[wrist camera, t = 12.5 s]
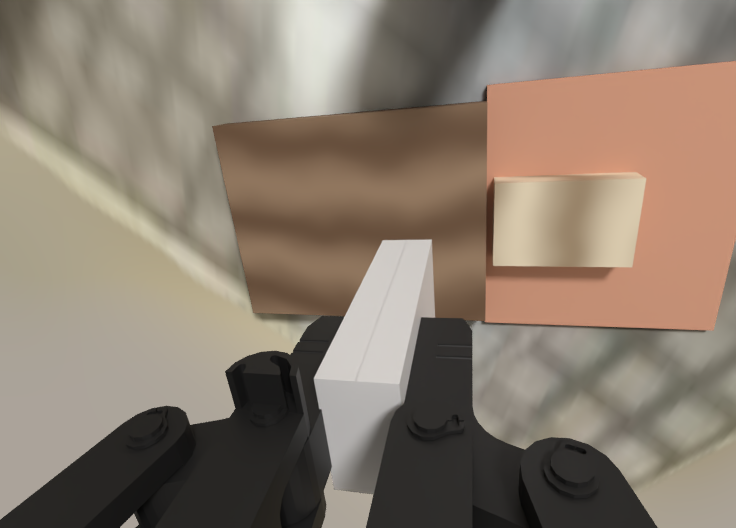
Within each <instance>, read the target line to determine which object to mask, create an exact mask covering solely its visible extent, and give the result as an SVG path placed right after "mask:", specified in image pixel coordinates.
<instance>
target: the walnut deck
mask: <svg viewBox="0 0 736 528" xmlns="http://www.w3.org/2000/svg"><path fill="white" fill-rule="evenodd" d="M212 127H213V132H214V136H215V141H216V146H217V150H218V155H219V159H220V164H221V168H222V173H223V177H224V182H225V186H226V191H227V195H228V200H229V204H230V209H231V213H232V218H233V222H234V227H235V231H236V236H237V240H238V245H239V249H240V254H241V258H242V263H243V267H244V272H245V276H246V281H247V285H248V290H249V295H250V299H251V304H252V308H253V313H273V314H302V315H330V316H345V315H346V313H347V311H348V309H349V307H350V305H351V303H352V301H353V299H354V297H355V295H356V293H357V291H358V289H359V287H360V285H361V283H362V281H363V279H364V277H365V275H366V273H367V271H368V269H369V267H370V265H371V263H372V261H373V259H374V257H375V255H376V253H377V251H378V249H379V247H380V245H381V243H382V241H383V240H431V239H432V255H433V279H434V302H435V318H463V319H464V320H474V321H485V309H486V205H487V101H480V102H469V103H458V104H446V105H435V106H423V107H412V108H401V109H389V110H378V111H366V112H355V113H343V114H332V115H321V116H309V117H298V118H286V119H275V120H263V121H252V122H241V123H229V124H222V125H217V126H212Z"/></svg>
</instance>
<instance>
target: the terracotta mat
mask: <svg viewBox="0 0 736 528" xmlns="http://www.w3.org/2000/svg"><path fill="white" fill-rule="evenodd" d="M621 172H637V173H639V174H640V175H642V176H643V177H645V178H646V184H645V190H644V197H643V203H642V209H641V216H640V222H639V228H638V235H637V241H636V247H635V254H634V260H633V266H632V267H548V266H493V261H492V242H493V200H494V177H515V176H541V175H568V174H594V173H621ZM735 239H736V61H732V62H721V63H711V64H701V65H690V66H680V67H670V68H659V69H649V70H638V71H628V72H618V73H607V74H597V75H587V76H576V77H566V78H555V79H545V80H535V81H524V82H514V83H504V84H493V85H487V205H486V309H485V322H492V323H520V324H548V325H576V326H604V327H632V328H660V329H688V330H714V326H715V322H716V318H717V314H718V310H719V305H720V301H721V297H722V293H723V289H724V285H725V281H726V276H727V272H728V268H729V264H730V260H731V256H732V251H733V247H734V243H735Z"/></svg>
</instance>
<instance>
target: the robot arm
mask: <svg viewBox="0 0 736 528" xmlns="http://www.w3.org/2000/svg"><path fill="white" fill-rule="evenodd" d="M225 373H226V377H227V380H228V384H229V387H230V391H231V394H232V398H233V401H234V404H235V408H236V409H235V410H234V412H233V413H232V415H231V416H230V418H226V419H222V420H217V421H211V422H205V423H200V424H193V425H190V424H189V421H188V418H187V415H186V413H185V412H184V411H183V410H181V409H180V408H178V407H171V406H164V407H157V408H152V409H149V410H147V411H144V412H142V413H140V414H137V415H135V416H134V417H132V418H131V419H130V420H128V421H126V422H125V423H123V424H122V425H120V426H119V427H118V428H117V429H115V430H114V431H113V432H112V433H111V434H109V435H108V436H107V437H105V438H104V439H103V440H101V441H100V442H99V443H98V444H96V445H95V446H94V447H92V448H91V449H90V450H89V451H88V452H86V453H85V454H84V455H82V456H81V457H80V458H79V459H77V460H76V461H75V462H73V463H72V464H71V465H70V466H68V467H67V468H66V469H64V470H63V471H62V472H61V473H59V474H58V475H57V476H55V477H54V478H53V479H52V480H50V481H49V482H48V483H47V484H45V485H44V486H43V487H42V488H40V489H39V490H38V491H36V492H35V493H34V494H33V495H31V496H30V497H29V498H27V499H26V500H25V501H24V502H22V503H21V504H20V505H19V506H17V507H16V508H15V509H13V510H12V511H11V512H10V513H8V514H7V515H6V516H4V517H3V518H2V519H1V520H0V528H120V526H122V524H123V523H124V522H126V521H127V520H128V518H130V517H131V516H132V515H133V514H135V516H136V518H137V521H138V523H139V525H138V526H137V527H136V528H321V527H322V524H323V521H324V518H325V511H326V501H325V496H324V488H325V485H326V482H327V479H328V477H329V473H330V471H331V475H332V480H333V486H334V489H335V490H343V491H351V492H359V493H367V494H374V495H373V500H372V504H371V509H370V513H369V517H368V521H367V526H366V528H657V526H656V525H655V523H654V521H653V520H652V518H651V517H650V516H649V514H648V512H647V511H646V510H645V508H644V506H643V505H642V504H641V502H640V500H639V499H638V497H637V496H636V494H635V493H634V491H633V490H632V488H631V487H630V485H629V484H628V482H627V481H626V479H625V478H624V476H623V475H622V473H621V472H620V470H619V469H618V468H617V467H616V466H615V465H614V464H613V463H612V461H611V460H610V459H609V458H608V457H607V456H606V455H604V454H603V453H601V452H600V451H598V450H596V449H595V448H593V447H592V446H590V445H588V444H585V443H582V442H579V441H576V440H573V439H570V438H553V437H551V438H547V439H543V440H539V441H536V442H534V443H533V444H532V445H531V446H529V447H528V448H527V449H526V450H524V449H521V448H518V447H516V446H513V445H510V444H507V443H505V442H503V441H501V440H499V439H496V438H495V437H493V436H492V435H491V434H489V433H488V432H486V431H485V430H484V429H483V428H482V426H481V425H480V424H479V423H478V421H477V420H476V418H475V416H474V413H473V407H472V330H471V328H470V327H469V326H468V324H467V323H466V322H465V320H464V319H463V318H435V302H434V279H433V255H432V239H431V240H383V241H382V243H381V245H380V247H379V249H378V251H377V253H376V255H375V257H374V259H373V261H372V263H371V265H370V267H369V269H368V271H367V273H366V275H365V277H364V279H363V281H362V283H361V285H360V287H359V289H358V291H357V293H356V295H355V297H354V299H353V301H352V303H351V305H350V307H349V309H348V311H347V313H346V315H345V317H338V316H322V317H320V318H319V319H317V320H316V321H315V322H313V323H312V324H311V325H309V326H308V327H307V329H306V330H305V332H304V334H303V335H302V337H301V338H300V342H298V343H297V345H296V346H295V348H294V350H293V353H291V355H289V354H288V353H284V352H279V351H267V352H259V353H256V354H253V355H249V356H247V357H245V358H243V359H241V360H239V361H238V362H235V363H234V364H233V365H232V366H231V367H230V368H229V369H228V370H226V371H225Z"/></svg>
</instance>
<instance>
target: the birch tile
mask: <svg viewBox="0 0 736 528" xmlns="http://www.w3.org/2000/svg"><path fill="white" fill-rule="evenodd" d="M645 184H646V178H645V177H643V176H642V175H640V174H639V173H637V172H621V173H594V174H568V175H541V176H515V177H494V200H493V242H492V261H493V266H548V267H632V266H633V260H634V254H635V247H636V241H637V235H638V228H639V222H640V216H641V209H642V203H643V197H644V190H645Z"/></svg>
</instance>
